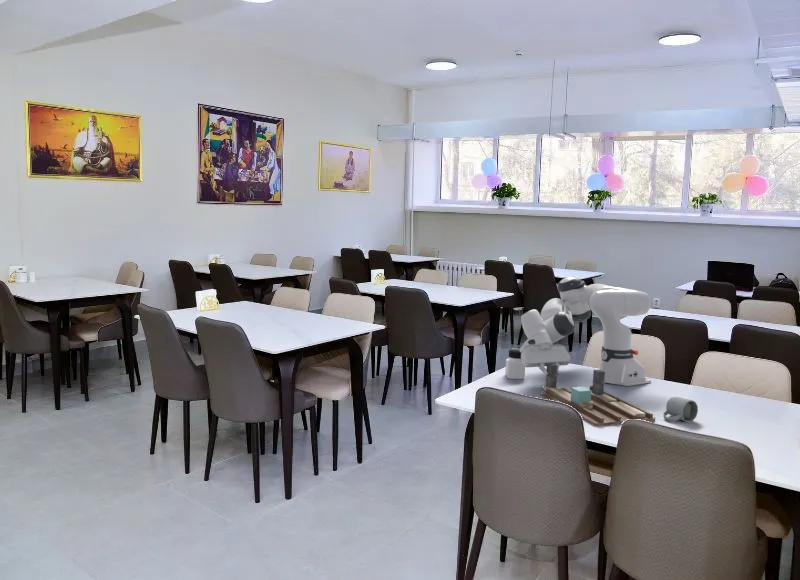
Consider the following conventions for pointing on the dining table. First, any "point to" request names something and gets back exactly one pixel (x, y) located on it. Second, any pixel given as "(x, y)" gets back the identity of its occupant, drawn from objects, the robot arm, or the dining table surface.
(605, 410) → the lane board
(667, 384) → the dining table surface
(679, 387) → the dining table surface
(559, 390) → the right strip
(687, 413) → the ceramic mug
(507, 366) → the medicine bottle
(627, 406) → the left strip far piece
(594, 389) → the left strip stub
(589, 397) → the teal cube
